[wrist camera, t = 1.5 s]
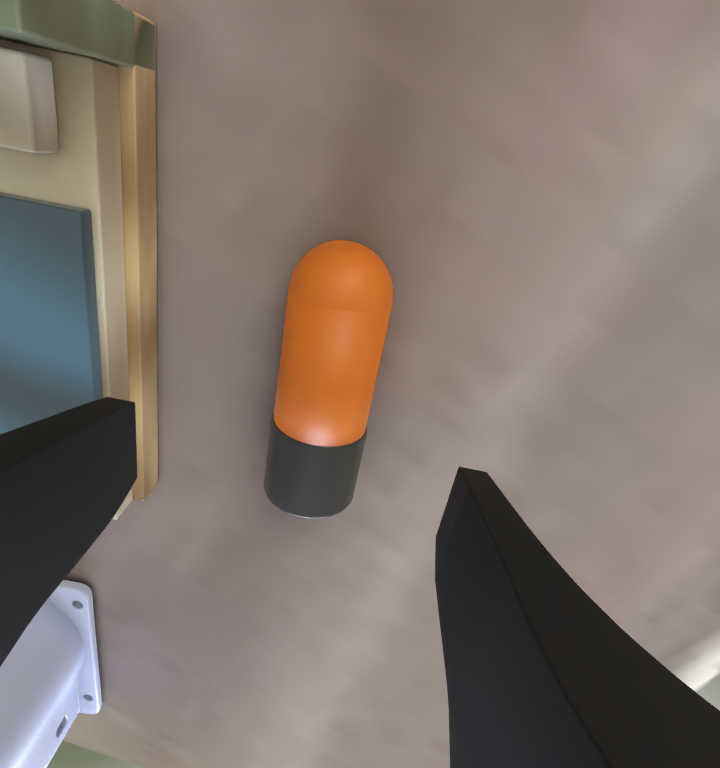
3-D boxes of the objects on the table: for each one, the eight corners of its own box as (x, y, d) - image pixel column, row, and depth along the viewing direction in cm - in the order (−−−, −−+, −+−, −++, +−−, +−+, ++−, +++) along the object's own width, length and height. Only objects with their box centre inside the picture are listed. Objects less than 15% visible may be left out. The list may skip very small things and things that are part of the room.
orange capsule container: (354, 472, 18) (350, 528, 16) (273, 458, 18) (254, 513, 16) (402, 242, 15) (408, 263, 12) (302, 223, 15) (284, 240, 12)
